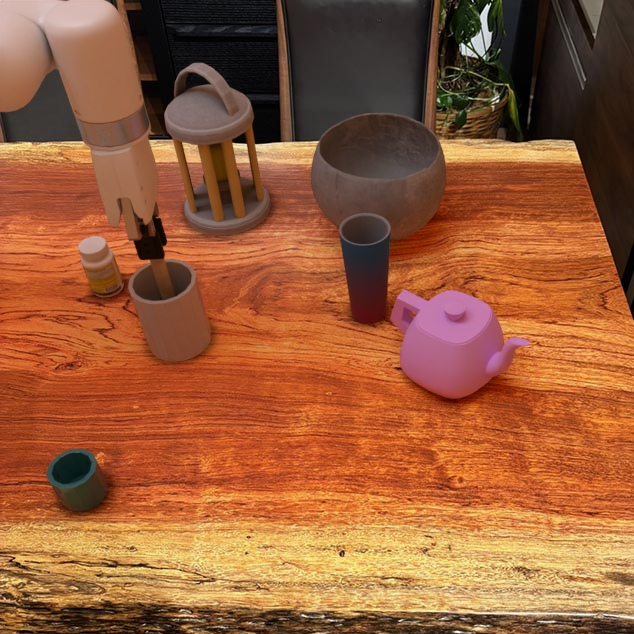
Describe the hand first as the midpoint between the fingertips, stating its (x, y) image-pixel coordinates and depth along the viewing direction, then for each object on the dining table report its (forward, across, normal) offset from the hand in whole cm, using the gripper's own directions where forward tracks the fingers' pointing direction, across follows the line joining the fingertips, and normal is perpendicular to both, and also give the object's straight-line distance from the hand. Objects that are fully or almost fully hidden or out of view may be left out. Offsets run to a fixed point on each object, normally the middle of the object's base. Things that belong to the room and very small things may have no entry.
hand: (153, 250), depth 102 cm
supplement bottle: (+16, -12, -12) cm, 23 cm away
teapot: (+16, +9, +38) cm, 42 cm away
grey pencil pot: (+16, 0, 0) cm, 16 cm away
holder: (+16, +25, -9) cm, 31 cm away
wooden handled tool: (+14, 0, 0) cm, 14 cm away
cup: (+16, -3, +27) cm, 32 cm away
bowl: (+16, -23, +30) cm, 41 cm away
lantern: (+16, -30, +5) cm, 34 cm away
